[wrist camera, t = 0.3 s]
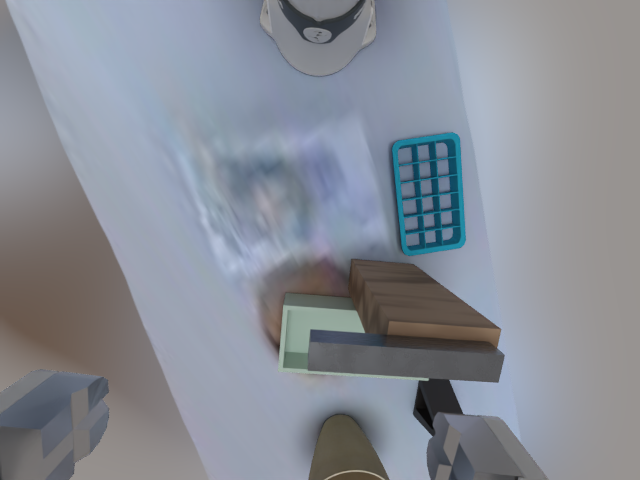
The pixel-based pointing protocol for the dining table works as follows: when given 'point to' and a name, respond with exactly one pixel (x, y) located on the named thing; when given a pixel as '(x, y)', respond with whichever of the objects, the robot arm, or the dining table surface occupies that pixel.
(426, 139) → the ice cube tray
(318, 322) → the green tray
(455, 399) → the phone stand
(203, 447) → the dining table surface
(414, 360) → the gray rectangular bar
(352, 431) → the plant pot
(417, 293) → the walnut stand
